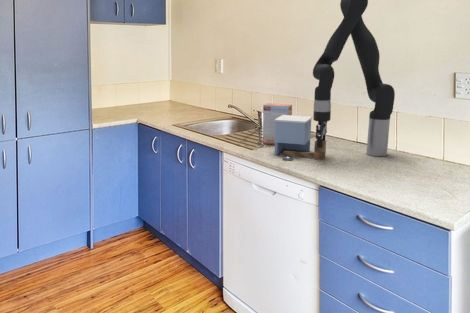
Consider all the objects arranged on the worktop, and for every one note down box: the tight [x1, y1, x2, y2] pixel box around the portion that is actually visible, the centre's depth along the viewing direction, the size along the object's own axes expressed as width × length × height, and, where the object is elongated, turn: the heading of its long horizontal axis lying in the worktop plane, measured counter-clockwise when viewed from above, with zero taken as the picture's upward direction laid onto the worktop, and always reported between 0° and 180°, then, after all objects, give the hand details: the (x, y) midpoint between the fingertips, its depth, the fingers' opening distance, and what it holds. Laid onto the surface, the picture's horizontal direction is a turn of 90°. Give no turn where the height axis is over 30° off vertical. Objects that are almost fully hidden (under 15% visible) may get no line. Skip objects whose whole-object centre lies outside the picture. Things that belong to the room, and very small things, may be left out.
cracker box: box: [262, 102, 293, 146], centre depth 223 cm, size 14×6×21 cm, turn 59°
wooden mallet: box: [282, 139, 327, 161], centre depth 199 cm, size 19×4×8 cm, turn 69°
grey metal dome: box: [281, 155, 294, 162], centre depth 195 cm, size 5×5×2 cm
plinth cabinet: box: [274, 114, 313, 156], centre depth 206 cm, size 15×15×17 cm
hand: (321, 145), depth 196 cm, fingers open, 8 cm apart
